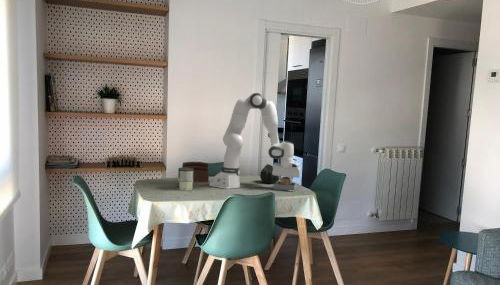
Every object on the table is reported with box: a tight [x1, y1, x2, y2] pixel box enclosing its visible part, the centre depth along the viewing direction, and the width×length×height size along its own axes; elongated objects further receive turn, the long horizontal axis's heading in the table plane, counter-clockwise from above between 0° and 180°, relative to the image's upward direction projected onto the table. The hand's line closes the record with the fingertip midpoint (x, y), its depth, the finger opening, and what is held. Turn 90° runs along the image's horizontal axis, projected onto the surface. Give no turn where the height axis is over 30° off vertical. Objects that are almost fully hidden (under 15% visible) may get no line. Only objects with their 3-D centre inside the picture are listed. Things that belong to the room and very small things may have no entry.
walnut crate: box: [280, 176, 291, 186], centre depth 297 cm, size 6×9×5 cm, turn 164°
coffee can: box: [177, 167, 194, 191], centre depth 279 cm, size 10×10×14 cm
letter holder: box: [181, 161, 210, 183], centre depth 309 cm, size 10×20×14 cm, turn 99°
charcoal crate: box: [272, 180, 298, 191], centre depth 297 cm, size 15×13×4 cm
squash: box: [259, 163, 280, 184], centre depth 317 cm, size 14×15×15 cm
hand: (285, 182), depth 297 cm, fingers closed on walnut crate, 5 cm apart
